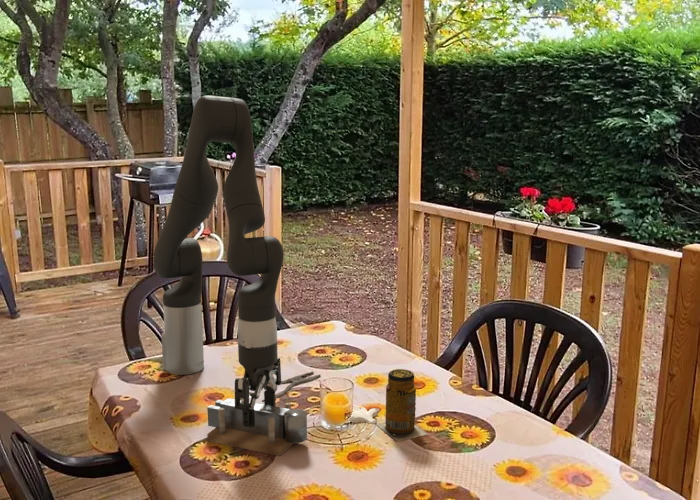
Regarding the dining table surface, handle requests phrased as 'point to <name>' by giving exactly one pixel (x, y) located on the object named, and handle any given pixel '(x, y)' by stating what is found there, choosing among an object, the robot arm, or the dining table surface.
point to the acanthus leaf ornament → (363, 415)
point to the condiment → (401, 406)
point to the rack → (249, 437)
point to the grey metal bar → (262, 420)
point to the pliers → (296, 382)
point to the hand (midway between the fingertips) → (259, 417)
